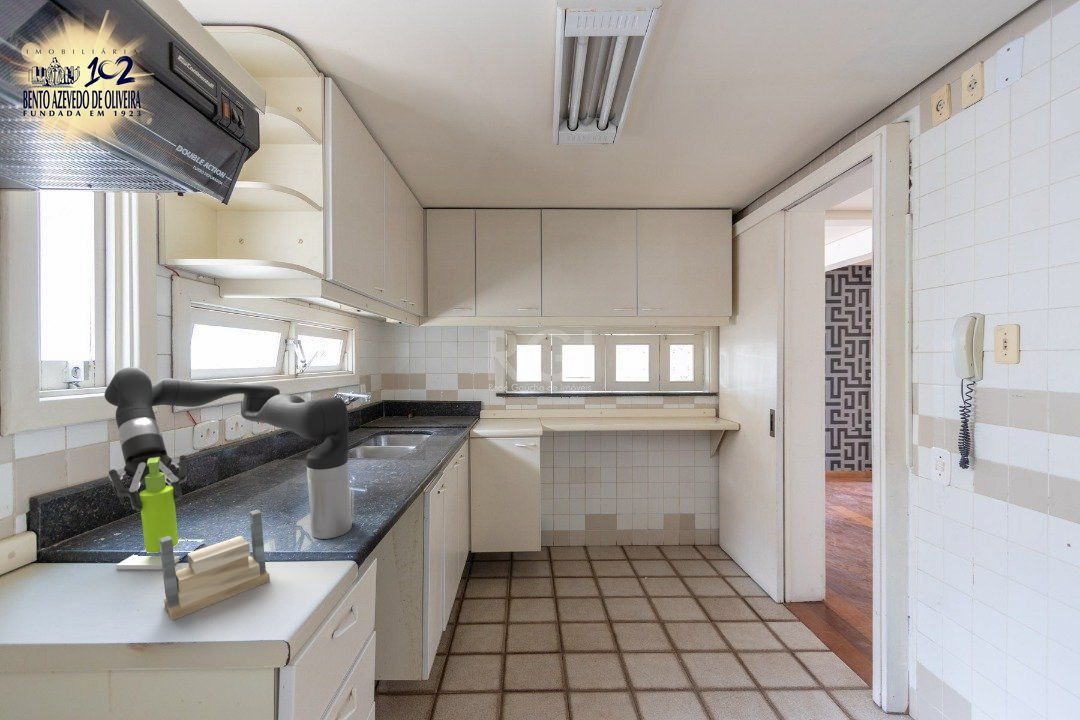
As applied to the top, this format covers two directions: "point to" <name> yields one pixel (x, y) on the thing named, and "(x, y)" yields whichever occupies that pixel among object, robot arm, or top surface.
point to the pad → (145, 561)
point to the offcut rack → (213, 571)
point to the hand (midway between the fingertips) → (158, 504)
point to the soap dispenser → (157, 509)
